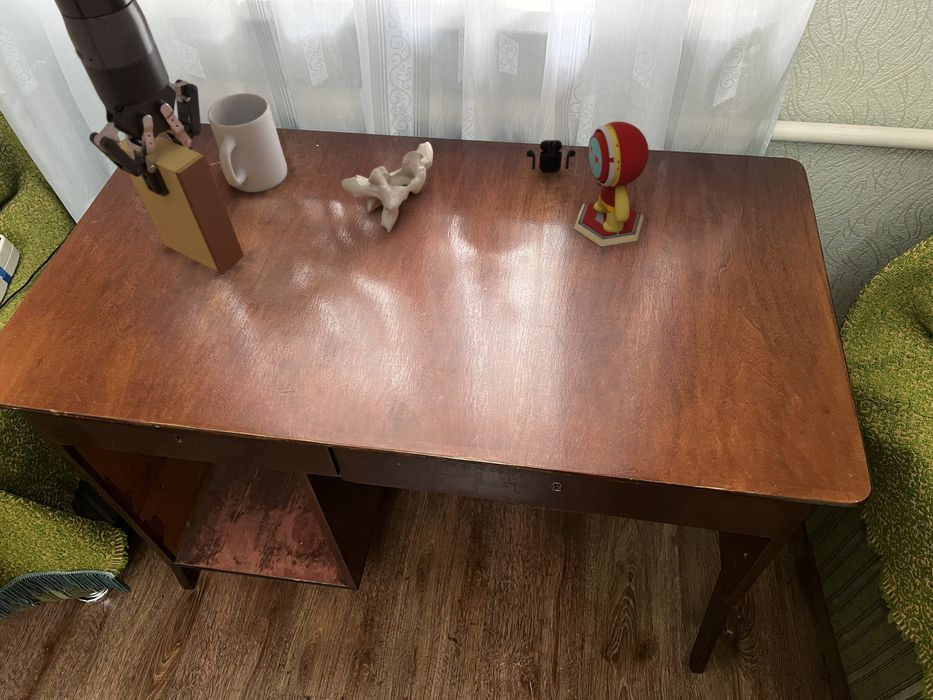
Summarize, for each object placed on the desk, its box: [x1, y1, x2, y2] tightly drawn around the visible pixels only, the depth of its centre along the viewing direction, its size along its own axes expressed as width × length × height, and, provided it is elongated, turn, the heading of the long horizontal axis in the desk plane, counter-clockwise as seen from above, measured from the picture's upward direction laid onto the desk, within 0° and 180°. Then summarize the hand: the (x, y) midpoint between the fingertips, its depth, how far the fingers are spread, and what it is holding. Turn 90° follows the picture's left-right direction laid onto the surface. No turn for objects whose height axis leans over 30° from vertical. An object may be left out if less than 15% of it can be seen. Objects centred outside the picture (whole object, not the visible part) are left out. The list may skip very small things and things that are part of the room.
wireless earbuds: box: [526, 139, 577, 172], centre depth 101 cm, size 7×2×5 cm, turn 88°
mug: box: [207, 92, 288, 193], centre depth 99 cm, size 12×8×11 cm
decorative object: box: [340, 141, 434, 234], centre depth 96 cm, size 9×14×8 cm, turn 140°
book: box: [120, 135, 245, 275], centre depth 88 cm, size 16×4×11 cm
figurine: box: [573, 120, 650, 247], centre depth 89 cm, size 9×10×15 cm
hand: (176, 182), depth 85 cm, fingers closed on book, 4 cm apart
